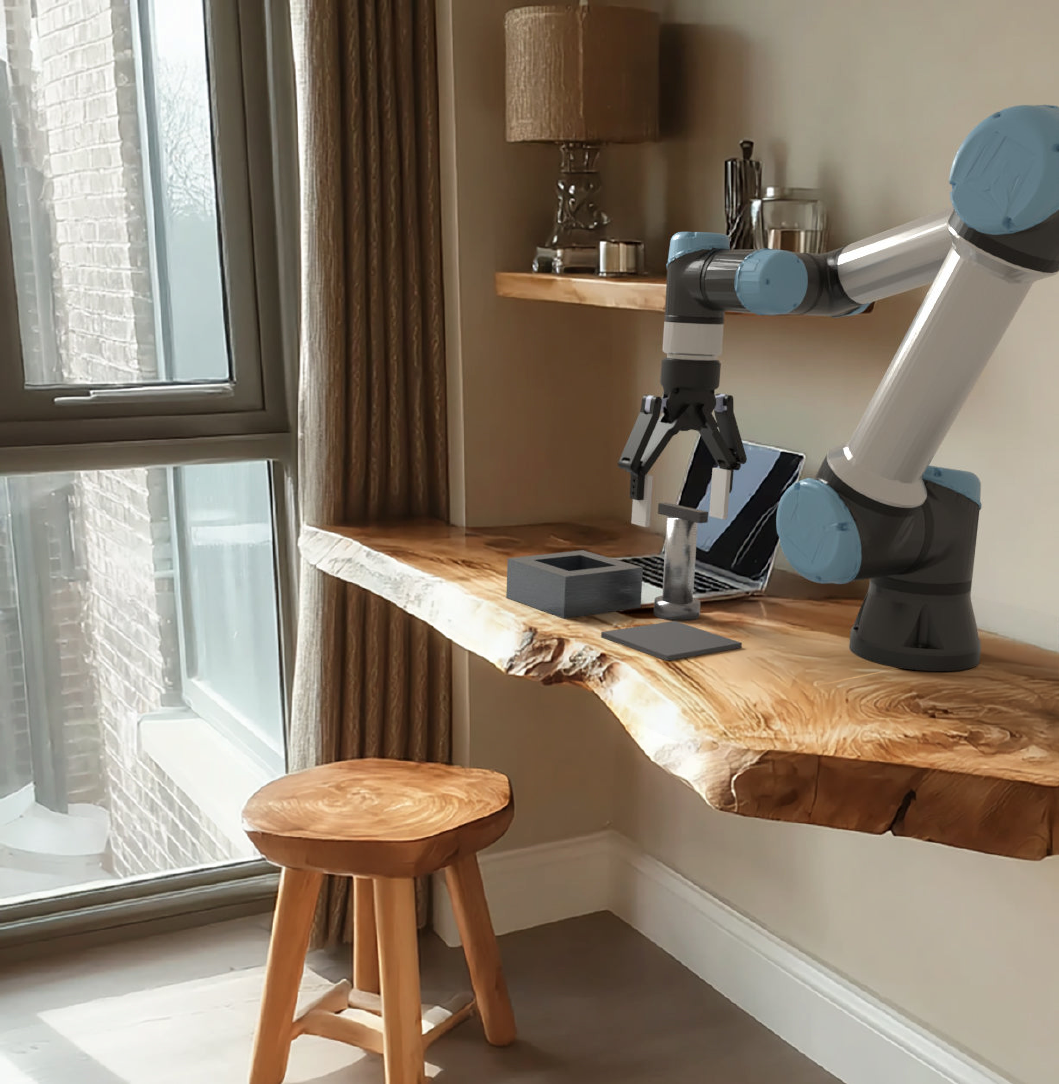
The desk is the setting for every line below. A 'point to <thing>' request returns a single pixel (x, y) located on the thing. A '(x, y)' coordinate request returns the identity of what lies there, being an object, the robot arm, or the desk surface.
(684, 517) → the chuck key
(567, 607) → the block
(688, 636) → the mat
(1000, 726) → the desk surface
